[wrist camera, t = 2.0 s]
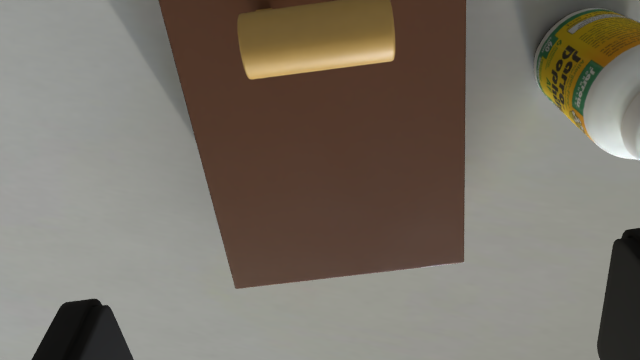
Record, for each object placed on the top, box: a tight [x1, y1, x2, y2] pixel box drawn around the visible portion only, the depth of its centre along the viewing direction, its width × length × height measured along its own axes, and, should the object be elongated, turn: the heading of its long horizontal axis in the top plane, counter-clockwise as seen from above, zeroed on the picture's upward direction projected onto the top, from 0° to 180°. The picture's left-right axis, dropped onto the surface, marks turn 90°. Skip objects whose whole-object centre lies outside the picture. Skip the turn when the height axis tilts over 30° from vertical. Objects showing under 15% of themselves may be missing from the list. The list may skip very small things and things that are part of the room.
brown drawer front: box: [159, 0, 466, 289], centre depth 23 cm, size 16×12×6 cm
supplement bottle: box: [534, 8, 640, 161], centre depth 25 cm, size 5×5×10 cm
